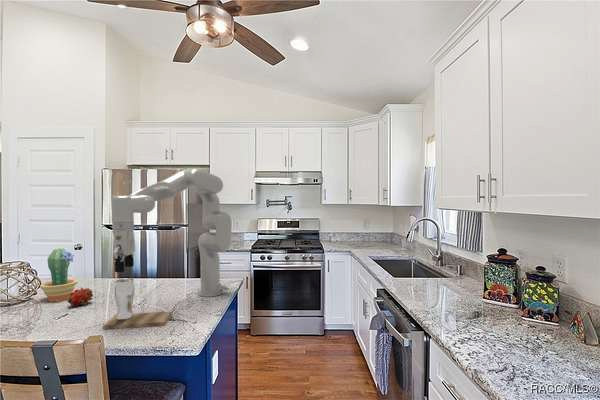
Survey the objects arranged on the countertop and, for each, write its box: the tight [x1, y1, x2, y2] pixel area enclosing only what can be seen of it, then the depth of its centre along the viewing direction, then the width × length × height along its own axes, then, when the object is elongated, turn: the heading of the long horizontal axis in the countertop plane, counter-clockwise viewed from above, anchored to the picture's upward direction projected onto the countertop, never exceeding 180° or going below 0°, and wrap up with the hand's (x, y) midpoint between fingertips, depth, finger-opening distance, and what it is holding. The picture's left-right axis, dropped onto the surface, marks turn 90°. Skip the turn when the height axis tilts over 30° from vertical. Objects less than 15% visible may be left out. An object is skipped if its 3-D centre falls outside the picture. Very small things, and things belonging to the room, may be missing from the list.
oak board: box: [102, 310, 173, 331], centre depth 130 cm, size 22×12×2 cm, turn 98°
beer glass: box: [114, 278, 135, 320], centre depth 131 cm, size 7×7×15 cm
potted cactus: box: [39, 247, 78, 303], centre depth 163 cm, size 15×15×25 cm
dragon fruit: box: [67, 287, 94, 308], centre depth 153 cm, size 8×8×12 cm
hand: (124, 269), depth 131 cm, fingers open, 9 cm apart
